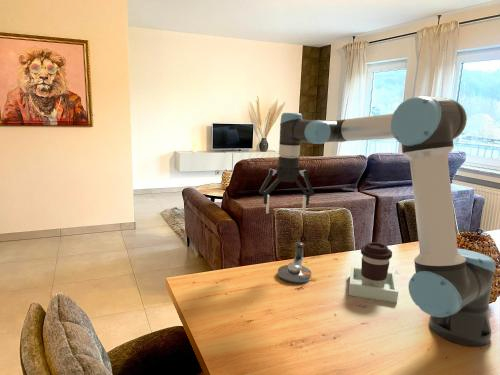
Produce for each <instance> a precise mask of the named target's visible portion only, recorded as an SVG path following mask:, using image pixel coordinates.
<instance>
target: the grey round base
mask: <svg viewBox="0 0 500 375" xmlns="http://www.w3.org/2000/svg"><path fill="white" fill-rule="evenodd" d="M277 278H278V279H279V280H280V281H282V282H284V283H285V284H286V283H287V284H290V285H302V284H303V285H304V284H307V283H309V282H310V281H313V282H317V279H318V278H314V277H312V271H311V269H309V268H308V267H306V266H303V265H302V272H301V273H298V274H294V273H290V272H288V264H285V265H282V266H280V267H278V269H277Z"/></svg>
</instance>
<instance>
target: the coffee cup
mask: <svg viewBox="0 0 500 375" xmlns="http://www.w3.org/2000/svg"><path fill="white" fill-rule="evenodd" d="M360 253H361V256H362V257H361V267H360V268H361V274H362V285H365V286H372V287H378V288H384V285H385V280H386V278H387V273H388V272H389V267H390V259H392V257H393V251H392V250H391V249H389V247H388V245H386V244H384V243H380V242H375V241H373V242H367V243H366V244H365V245H363V246H362V247H361V248H360Z"/></svg>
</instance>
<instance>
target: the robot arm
mask: <svg viewBox="0 0 500 375" xmlns="http://www.w3.org/2000/svg"><path fill="white" fill-rule="evenodd" d="M280 116H281V117H280V123H279V143H278V144H279V146H278V155H279V156H278V158H277V160H278V161H277V162H278V164H277V169H272V168H269V169H268V174H267V177H265V180H264V182H263V183H262V184H261V187H260V189H259V194H260V195H263V204H264V205H266V207H265V208H266V209H265V213H266V214H269V213H270V212H269V211H270V197H271V196H270V194H271V192H272V191H273V190H274V189H275V188H276V187H277V185H279V184H280V183H281V182H283V183H287V182H289V183H293V182H295V184H296V185H297V187H298V188H300V190H301V191H302V193H303V194H304V195H303V196H302V206H301V213H302V215H306V208H307V206H309V203H310V197H312V196H315V194H316V193H315V191H314V189H313V187H312V184H311V182H310V180H309V177H308V170H306V169H303V170H299V169H300V157H299V156H300V155H301V143H302V142H303V143H309V144H313V145H315V144H317V145H323V144H325V143H344V142H353V141H369V140H370V141H371V140H386V139H395V140H397V142H398V143H400V145H401V151H402V155H403V156H404V157H406V158H407V159H408V160H409V164H410V174H411V183H412V192H413V203H414V210H415V219H416V229H417V238H418V246H419V248H418V249H419V253H418V254H417V256H415V257H414V259H413V260H414V270H415V272H414V274H413V275H412V276H411V278H410V279H409V281H408V293H409V296H410V298H411V300H412V301H413V303H414V304H415V305H416V306H417V307H418V308H419V309H420V311H422V312H424V313H426V314H427V315H429V322H428V323H429V326H430V328H431V330H433V331H434V332H435V333H436V334H437V335H439V336H441V337H442V338H443V339H445V340H448V341H450V342H452V343H456V344H458V345H459V344H460V345H462V346H467V347H482V346H486V345H487V344H489V343H490V342H491V337H492V327H491V322H490V317H489V314H488V311H489V304H490V298H491V293H492V288H493V282H494V276H495V274H496V270H495V269H496V261H495V260H494V259H493V258H492V257H490V256H488V255H486V254H483V253H482V252H481V253H480V252H477V251H473V250H469V249H465V248H458V241H457V233H456V231H457V230H456V224H455V223H456V222H455V221H456V220H455V214H454V212H455V211H454V204H453V194H452V185H451V178H450V177H451V176H450V166H449V158H448V156H449V154H450V153H451V152H452V150H453V149H454V148H455V147H454V140H455V139H457V138H458V137H459V136H461V134H462V133H463V131H464V130H465V128H466V125H467V120H468V119H467V118H468V116H467V112H466V109H465V108H464V107H463V105H462V104H460V103H459V102H458V101H456V100H454V99H452V98H447V97H444V98H443V97H435V96H429V95H422V96H413V97H409V98H407V99H405V100H404V101H402V102H400V104H399V105H398V106H397V107H396V109H395V110H394V112H393V113H388V114H379V115H371V116H364V117H355V118H347V119H346V118H345V119H338V120H336V119H335V120H325V119H324V120H323V119H322V120H321V119H303V114H302V113H298V112H283V113H282V114H281V115H280ZM275 174H277V177H276V179H274V181H273V182H272V183H271V184H270V185H269V183H270V181H271V179H272V178H273V176H275ZM299 175H301V176H302V178H303V179H304V182H305V183H306V184H305V185H306V186H307V189H308V190H307V189H306V188H305V187H304V186H303V184H302V183H301V182H300V180H299V179H298V177H299ZM268 185H269V186H268Z"/></svg>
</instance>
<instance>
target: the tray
mask: <svg viewBox="0 0 500 375" xmlns="http://www.w3.org/2000/svg"><path fill="white" fill-rule="evenodd" d="M348 296H352V297H353V296H354V297H359V298H364V299H371V300H377V301H383V302H390V303H396V304H397V303H398V299H399V298H398V296H399V287H398V283H397V279H396V273H395V272H393V271H392V272H390V271H388V273H387V278H386V280H385V285H384V288H378V287H372V286H365V285H362V274H361V267H355V266H350V275H349V286H348Z"/></svg>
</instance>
